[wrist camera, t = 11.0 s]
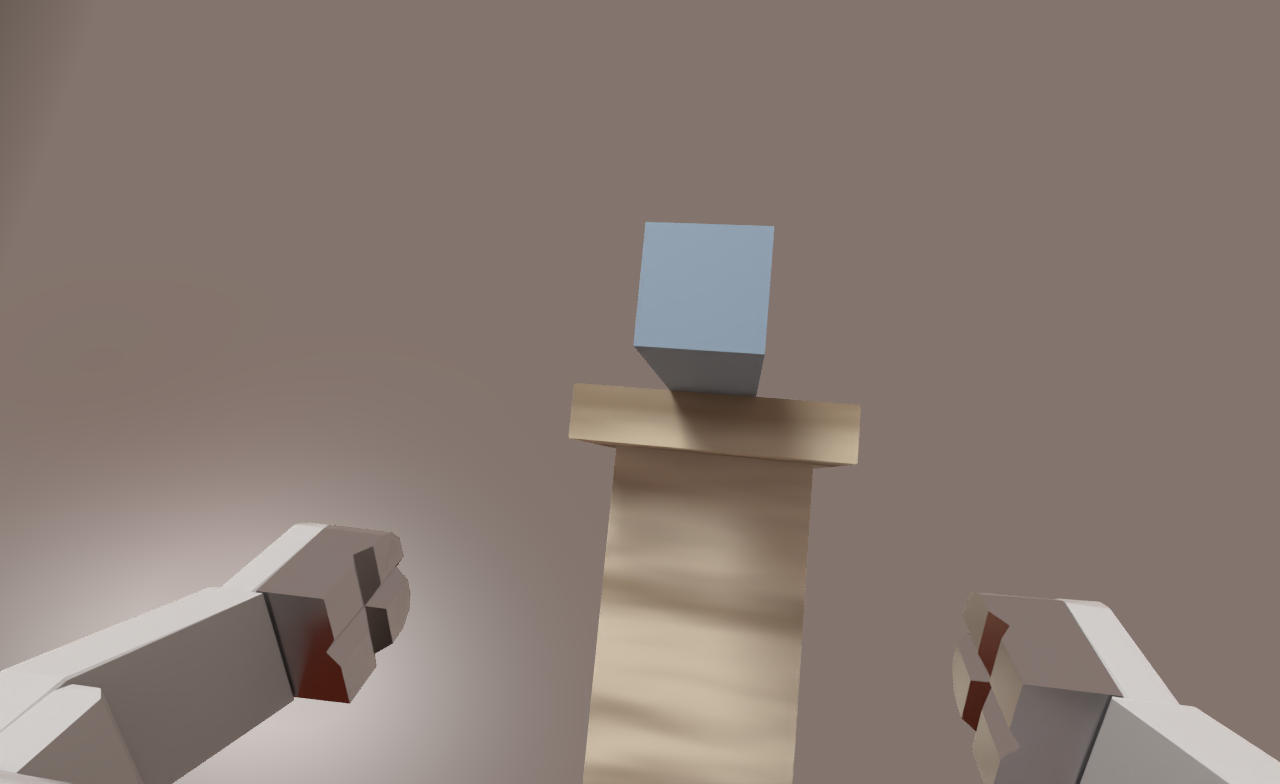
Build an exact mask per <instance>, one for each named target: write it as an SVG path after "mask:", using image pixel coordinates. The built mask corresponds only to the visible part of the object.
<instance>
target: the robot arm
mask: <svg viewBox="0 0 1280 784" xmlns="http://www.w3.org/2000/svg"><path fill="white" fill-rule="evenodd" d="M403 556H404V555H403V551H402V547H401V543H400V538H399V537H398V536H396V535H394V534H393V533H391V532H383V531H376V530H368V529H360V528H352V527H344V526H336V525H334V526H331V525H325V524H316V523H307V522H305V523H301V524H296V525H294V526H292V527H291V528H290V529H289V530H288V531H287V532H285V533H284V534H283V535H282V536H281V537H280V538H278V539H277V540H276V541H275V542H274V543H273V544H271V545H270V546H269V547H268V548H267V549H265V550H264V551H263V552H262V553H261V554H260V555H258V556H257V557H256V558H255V559H254V560H252V561H251V562H250V563H249V564H248V565H247V566H245V567H244V568H243V569H242V570H241V571H239V572H238V573H237V574H236V575H235V576H234V577H232V578H231V579H230V580H229V581H228V582H227V583H225V584H224V585H223V586H222V587H221V588H216V587H209V588H206V589H204V590H202V591H199V592H196V593H194V594H191V595H189V596H187V597H184V598H182V599H179V600H176V601H174V602H171V603H169V604H166V605H164V606H161V607H159V608H157V609H154V610H152V611H149V612H146V613H144V614H141V615H139V616H136V617H134V618H132V619H129V620H126V621H124V622H122V623H119V624H116V625H114V626H111V627H109V628H107V629H104V630H101V631H99V632H96V633H94V634H91V635H89V636H87V637H84V638H81V639H79V640H76V641H74V642H72V643H69V644H67V645H64V646H62V647H59V648H57V649H54V650H52V651H49V652H47V653H44V654H42V655H39V656H37V657H34V658H32V659H29V660H27V661H24V662H22V663H19V664H17V665H14V666H12V667H9V668H7V669H4V670H2V671H1V672H0V784H172V783H174V782H175V781H176V780H178V779H179V778H181V777H183V776H184V775H185V774H186V773H188V772H190V771H191V770H193V769H194V768H196V767H197V766H199V765H200V764H201V763H203V762H204V761H206V760H207V759H209V758H210V757H211V756H213V755H215V754H216V753H218V752H219V751H220V750H222V749H223V748H225V747H226V746H228V745H229V744H231V743H232V742H234V741H235V740H237V739H238V738H239V737H241V736H242V735H244V734H245V733H247V732H248V731H250V730H251V729H253V728H254V727H255V726H257V725H258V724H260V723H261V722H263V721H264V720H266V719H267V718H269V717H270V716H272V715H273V714H275V713H276V712H277V711H279V710H280V709H282V708H283V707H285V706H286V705H287V704H289V703H291V702H292V701H293V700H294V698H293V697H299V698H309V699H316V700H325V701H334V702H342V703H351V701H352V700H353V698H354V697H355V696H356V694H357V693H358V691H359V690H360V689H361V687H362V686H363V684H364V683H365V682H366V680H367V679H368V677H369V676H370V675H371V673H372V672H373V670H374V669H375V668H376V660H375V653H376V652H378V651H380V650H382V649H384V648H385V647H387V646H389V645H391V644H392V643H393V642H394V641H395V639H396V638H397V636H398V635H399V633H400V632H401V630H402V629H403V626H404V624H405V621H406V618H407V615H408V612H409V608H410V589H409V583H408V580H407V579H406V577H405V576H404V575H403V574H402V573H401V572H400V570H399V569H398V568H397V565H398V564H399V562H400V561H401V559H402V558H403ZM963 617H964V620H965V622H966V625H967V627H968V630H969V632H970V633H969V634H967V635H966V636H965V637H963V638H962V639H961V640H959V641H958V642H957V644H956V649H955V655H954V660H953V686H954V692H955V697H956V702H957V705H958V708H959V711H960V714H961V718H962V719H963V720H964V721H965V722H967V723H968V724H969V725H970V726H971V727H972V728H973V729H974V730H975V731H976V735H975V739H974V744H973V747H972V750H973V753H974V756H975V759H976V762H977V765H978V768H979V771H980V773H981V776H982V779H983V782H984V784H1280V762H1279V761H1277V760H1275V759H1274V758H1272V757H1271V756H1269V755H1268V754H1266V753H1265V752H1263V751H1261V750H1260V749H1259V748H1257V747H1255V746H1254V745H1252V744H1251V743H1249V742H1248V741H1246V740H1245V739H1243V738H1242V737H1240V736H1239V735H1237V734H1236V733H1234V732H1233V731H1231V730H1229V729H1228V728H1226V727H1225V726H1223V725H1222V724H1220V723H1219V722H1217V721H1215V720H1214V719H1213V718H1211V717H1210V716H1208V715H1206V714H1205V713H1203V712H1202V711H1200V710H1199V709H1197V708H1196V707H1191V706H1183V705H1180V704H1179V703H1178V702H1177V700H1176V699H1175V698H1174V696H1173V695H1172V693H1171V692H1170V691H1169V689H1168V688H1167V687H1166V685H1165V684H1164V682H1163V681H1162V680H1161V678H1160V677H1159V676H1158V674H1157V673H1156V672H1155V670H1154V669H1153V667H1152V666H1151V665H1150V663H1149V662H1148V660H1147V659H1146V658H1145V656H1144V655H1143V654H1142V652H1141V651H1140V649H1139V648H1138V647H1137V645H1136V644H1135V643H1134V641H1133V640H1132V639H1131V638H1130V636H1129V635H1128V633H1127V632H1126V630H1125V629H1124V628H1123V626H1122V625H1121V624H1120V622H1119V621H1118V619H1117V618H1116V617H1115V615H1114V614H1113V612H1112V611H1111V610H1110V609H1109V608H1108V607H1107V606H1105V605H1104V604H1102V603H1100V602H1094V601H1082V600H1068V599H1055V600H1052V599H1042V598H1032V597H1021V596H1010V595H1000V594H990V593H979V592H972V593H971V595H970V596H969V598H968V600H967V602H966V606H965V610H964V614H963Z"/></svg>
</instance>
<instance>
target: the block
mask: <svg viewBox="0 0 1280 784" xmlns="http://www.w3.org/2000/svg"><path fill="white" fill-rule="evenodd" d="M773 236H774V226H750V225H720V224H719V225H718V224H717V225H716V224H691V223H661V222H646V225H645V235H644V245H643V256H642V266H641V276H640V286H639V296H638V307H637V316H636V327H635V337H634V347H635V348H636V349H637V351H638V352H639V353H640V354H641V355H642V357H643V358H644V359H645V360H646V361H647V363H648V364H649V365H650V366H651V368H652V369H653V370H654V371H655V373H656V374H657V375H658V376H659V377H660V379H661V380H662V381H663V382H664V383H665V385H666V386H667V387H668V388H669V390H671V391H684V392H697V393H710V394H723V395H736V396H749V397H756V394H757V389H758V384H759V379H760V374H761V370H762V365H763V360H764V355H765V343H766V330H767V315H768V303H769V290H770V276H771V263H772V250H773Z"/></svg>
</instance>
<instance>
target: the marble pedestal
mask: <svg viewBox="0 0 1280 784" xmlns="http://www.w3.org/2000/svg"><path fill="white" fill-rule="evenodd" d="M860 409H861V405H854V404H840V403H828V402H815V401H814V402H813V401H802V400H789V399H776V398H763V397H749V396H736V395H723V394H710V393H697V392H684V391H671V390H658V389H645V388H632V387H619V386H605V385H593V384H580V383H575V384H574V392H573V401H572V410H571V419H570V429H569V438H571V439H575V440H580V441H584V442H589V443H594V444H598V445H603V446H608V447H612V448H616V456H615V466H614V476H613V486H612V496H611V506H610V516H609V526H608V536H607V547H606V556H605V567H604V577H603V587H602V597H601V607H600V617H599V627H598V637H597V647H596V657H595V667H594V677H593V687H592V697H591V707H590V717H589V727H588V737H587V747H586V757H585V767H584V777H583V784H792V783H793V767H794V752H795V737H796V722H797V705H798V691H799V676H800V659H801V645H802V629H803V614H804V598H805V597H804V596H805V583H806V568H807V552H808V537H809V521H810V505H811V490H812V475H813V468H824V467H835V466H845V465H855V464H857V462H858V444H859V427H860Z"/></svg>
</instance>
